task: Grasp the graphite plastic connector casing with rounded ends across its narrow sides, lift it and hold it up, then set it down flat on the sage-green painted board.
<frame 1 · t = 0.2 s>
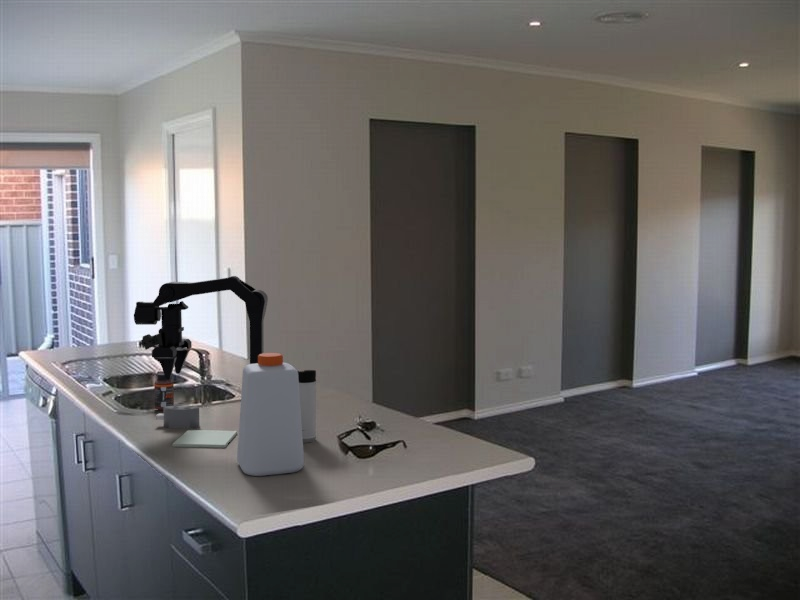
hand: (173, 376, 232), 14 cm above the worktop, fingers open, 9 cm apart
connector casing: (181, 426, 229), on the worktop
supplement bottle: (164, 409, 250), on the worktop
plastic bottle: (270, 467, 193), on the worktop
travel mug: (304, 440, 216), on the worktop
sage board: (205, 439, 215), on the worktop
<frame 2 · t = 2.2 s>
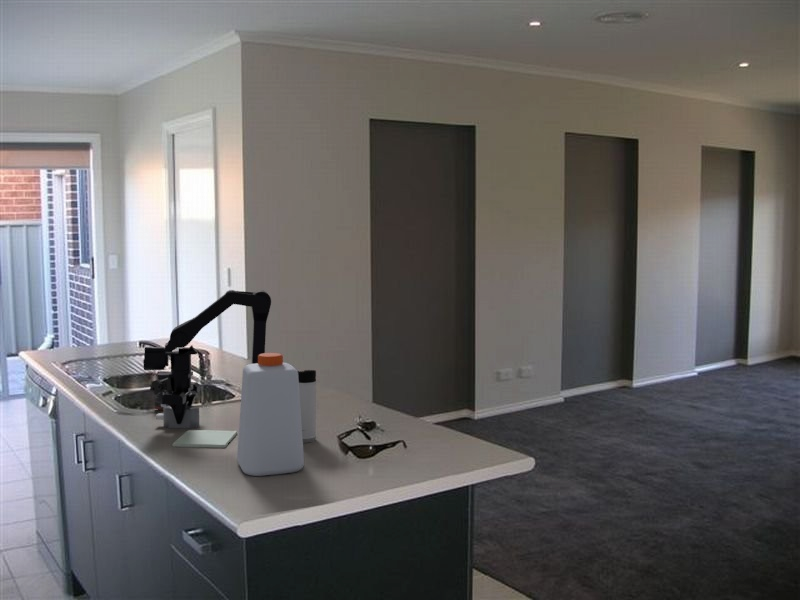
hand: (181, 421, 229), 1 cm above the worktop, fingers closed on connector casing, 4 cm apart
connector casing: (181, 426, 229), on the worktop, touching gripper
everything else where it was.
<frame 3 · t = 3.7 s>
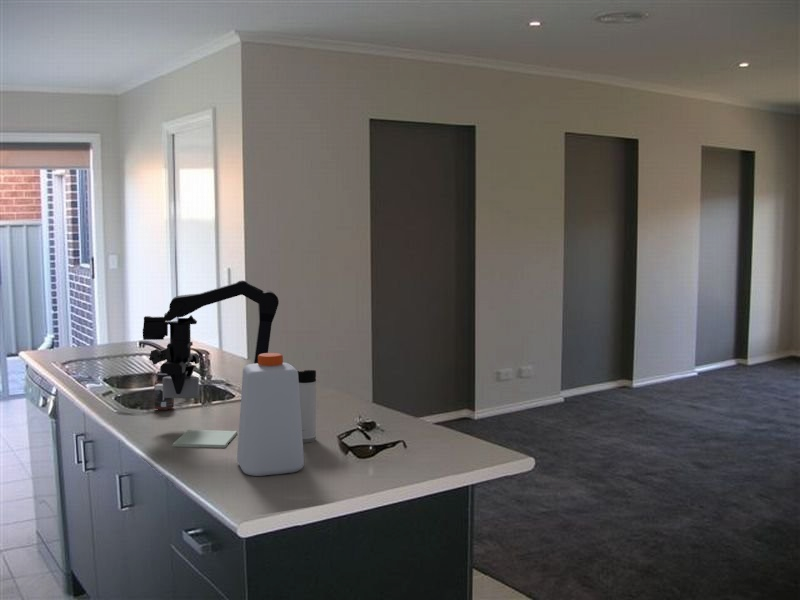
hand: (180, 392, 228), 10 cm above the worktop, fingers closed on connector casing, 4 cm apart
connector casing: (180, 396, 228), point 9 cm above the worktop, touching gripper
everything else where it was.
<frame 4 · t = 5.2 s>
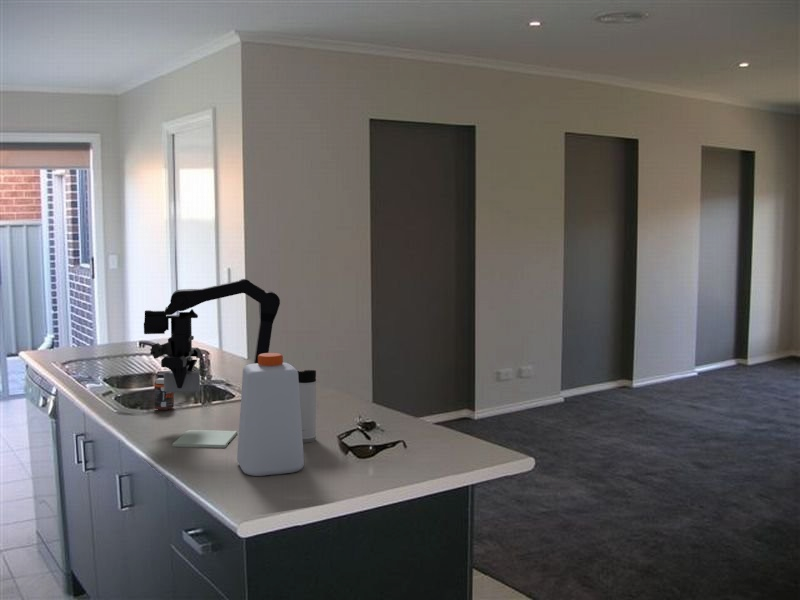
hand: (182, 386, 227), 12 cm above the worktop, fingers closed on connector casing, 4 cm apart
connector casing: (182, 390, 228), point 11 cm above the worktop, touching gripper
everything else where it was.
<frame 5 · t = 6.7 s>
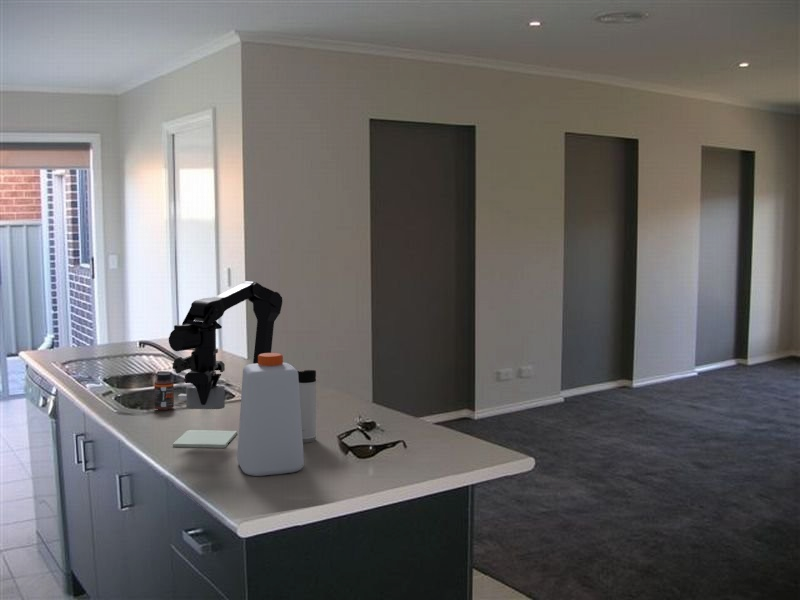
hand: (205, 402, 214), 10 cm above the worktop, fingers closed on connector casing, 4 cm apart
connector casing: (205, 407, 214), point 9 cm above the worktop, touching gripper
everything else where it was.
when the fingers open (3 cm above the worktop, at t = 8.2 s): connector casing drops 1 cm, resting on sage board.
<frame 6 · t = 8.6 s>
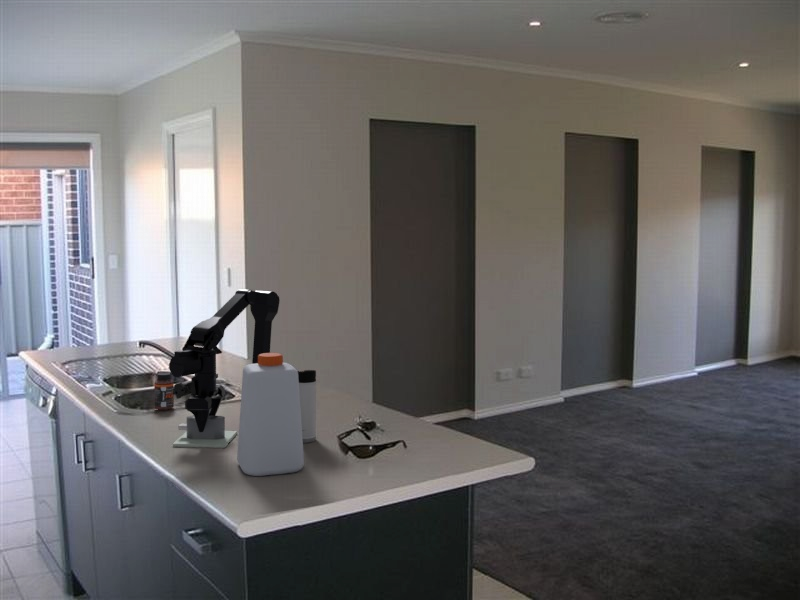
hand: (205, 427, 215), 3 cm above the worktop, fingers open, 9 cm apart
connector casing: (205, 437, 215), point 1 cm above the worktop, touching sage board
everything else where it was.
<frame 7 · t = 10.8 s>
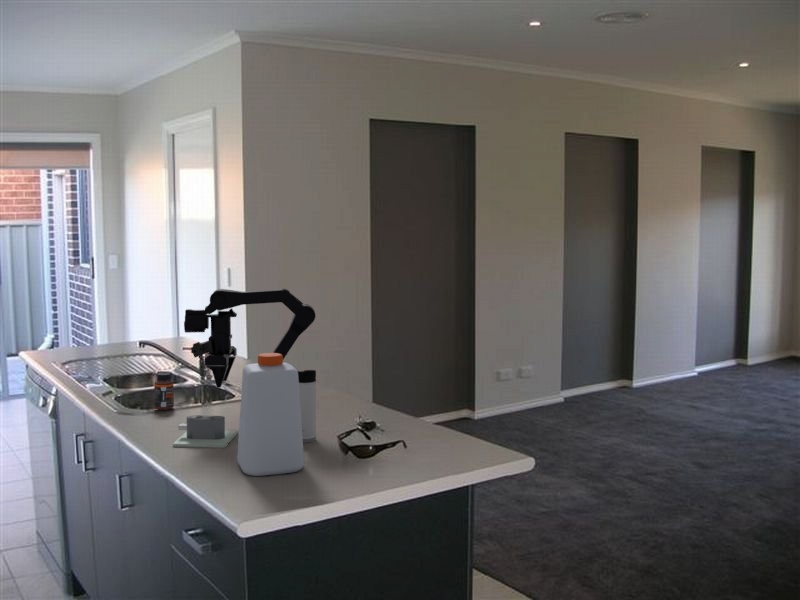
hand: (221, 384, 231), 12 cm above the worktop, fingers open, 9 cm apart
nothing on the worktop moved.
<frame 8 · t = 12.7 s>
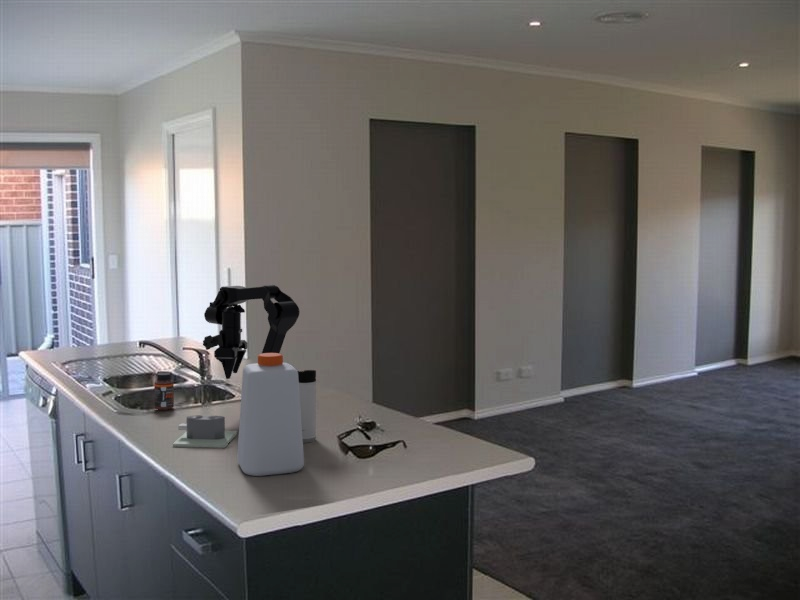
hand: (231, 375, 244), 12 cm above the worktop, fingers open, 9 cm apart
nothing on the worktop moved.
at the end: connector casing inside the target area on the sage board (0.1 cm from its centre), point 0.8 cm above the sage board's base; connector casing tilted 0°; the gripper is holding nothing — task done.
